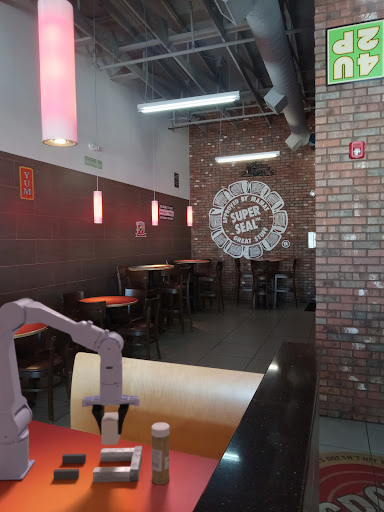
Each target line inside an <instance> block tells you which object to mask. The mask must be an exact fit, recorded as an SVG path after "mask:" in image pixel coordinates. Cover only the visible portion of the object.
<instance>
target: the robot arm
mask: <svg viewBox="0 0 384 512" xmlns="http://www.w3.org/2000/svg"><path fill="white" fill-rule="evenodd" d="M33 324H43V325H46V326H49V327H52V328H53V329H57V330H58V331H60V332H63V333H66V334H69V335H70V337H71V339H72V342H74V343H76V344H79V345H81V346H83V347H85V348H87V349H88V350H91V351H94V352H97V355H98V356H99V357H100V359H99V360H100V362H99V394H97V395H91V396H83V398H82V399H81V408H86V407H91V415H93V417H94V419H95V421H96V423H97V426H98V430H99V435H100V436H101V421H102V419H103V417H104V414H105V407H106V406H107V407H108V406H110V407H111V406H119V407H118V409H117V412H118V420H119V425H118V435H120V436H121V435H122V432H123V427H124V426H123V425H124V421H125V418H126V416H127V414H128V411H129V408H130V406H134V407H139V406H140V402H141V401H140V400H141V399H140V395H132V394H124V393H123V355H122V350H123V348H124V343H125V342H124V339H123V337H122V336H121V335H120V334H119V333H117V332H116V331H110V330H109V329H105V330H104V329H103V328H101V327H98V326H97V325H94V322H93V321H91V320H87V321H86V320H81V321H78V322H76V321H74V320H73V319H71V318H69V317H68V316H65V315H63V314H61V313H60V312H57V311H56V310H53V309H52V308H50V307H48V306H46V305H45V304H43V303H41V302H39V301H34V300H33V299H31V298H29V297H23V298H20V299H18V300H15V301H11V302H6V303H4V304H2V306H1V307H0V481H7V480H8V481H9V480H11V481H12V480H13V481H14V480H18V481H19V480H24V478H25V477H26V475H27V474H28V472H29V471H30V470H31V468H32V467H33V465H34V464H35V459H30V456H29V455H30V453H29V452H30V451H29V449H30V447H29V445H30V444H29V443H30V440H29V438H30V437H29V435H30V434H29V432H30V431H29V428H28V427H29V426H28V425H29V424H30V423H31V422H32V419H33V411H32V409H31V408H30V407H29V404H28V400H27V398H26V397H25V396H23V394H22V387H21V381H20V375H19V369H18V362H17V354H16V349H15V348H16V347H15V346H16V345H15V340H14V336H15V335H16V334H17V333H18V332H19V330H21V328H22V327H23V326H24V325H26V326H27V325H33Z"/></svg>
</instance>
